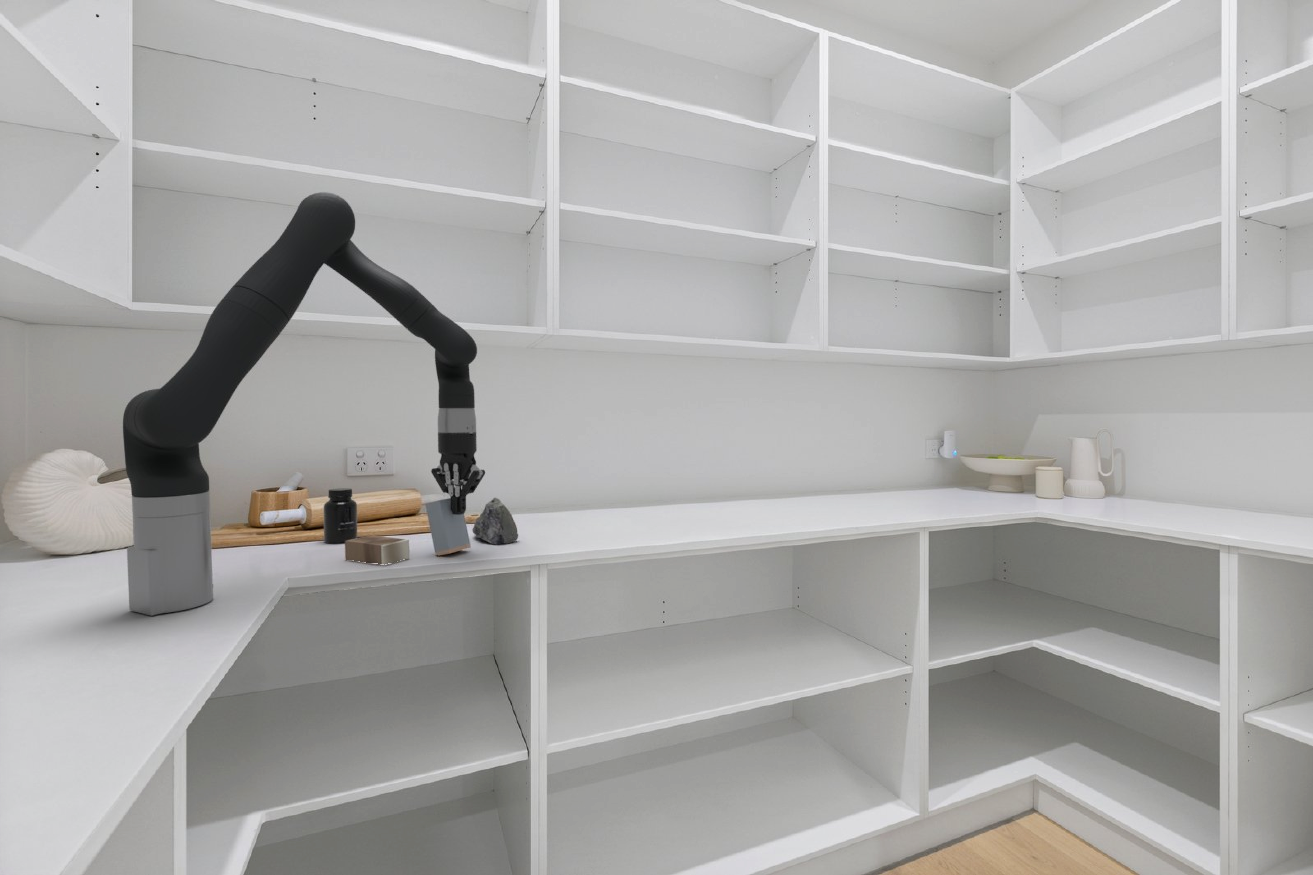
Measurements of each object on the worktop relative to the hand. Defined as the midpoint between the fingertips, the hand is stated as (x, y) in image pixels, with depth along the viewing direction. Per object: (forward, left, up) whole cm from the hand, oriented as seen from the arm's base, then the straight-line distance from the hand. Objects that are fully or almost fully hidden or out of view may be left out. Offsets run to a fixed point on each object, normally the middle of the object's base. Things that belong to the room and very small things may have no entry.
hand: (458, 514), depth 123 cm
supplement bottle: (-1, +35, -9) cm, 36 cm away
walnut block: (-10, +7, -7) cm, 14 cm away
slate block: (0, +2, -8) cm, 8 cm away
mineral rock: (+15, +3, -9) cm, 18 cm away
